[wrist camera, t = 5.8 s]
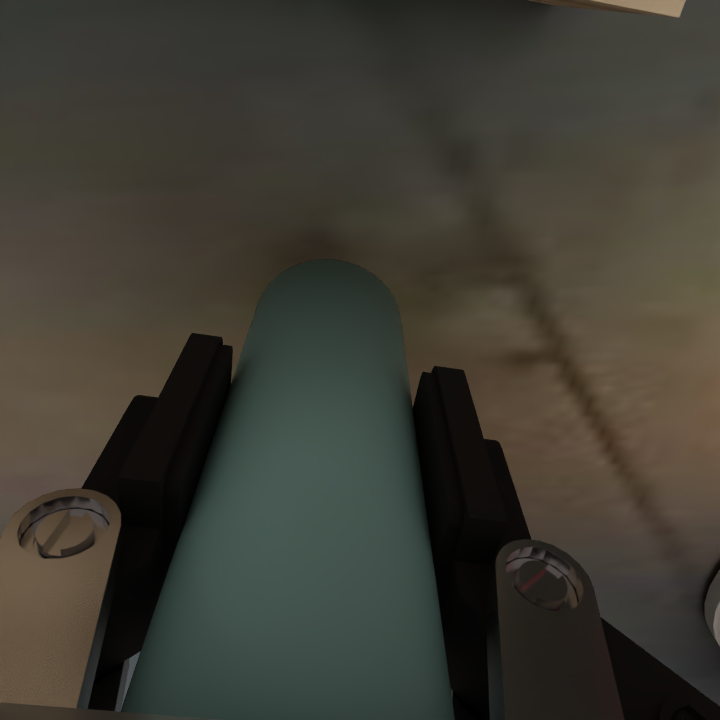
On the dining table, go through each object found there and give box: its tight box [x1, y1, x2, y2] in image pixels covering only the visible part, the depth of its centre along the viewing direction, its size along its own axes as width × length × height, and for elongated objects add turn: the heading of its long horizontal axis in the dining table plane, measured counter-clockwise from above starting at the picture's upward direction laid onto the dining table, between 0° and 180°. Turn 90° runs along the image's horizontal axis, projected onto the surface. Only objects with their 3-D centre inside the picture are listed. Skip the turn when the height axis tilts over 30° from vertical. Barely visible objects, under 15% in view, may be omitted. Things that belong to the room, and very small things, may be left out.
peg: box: [121, 259, 455, 720], centre depth 10 cm, size 4×4×12 cm
